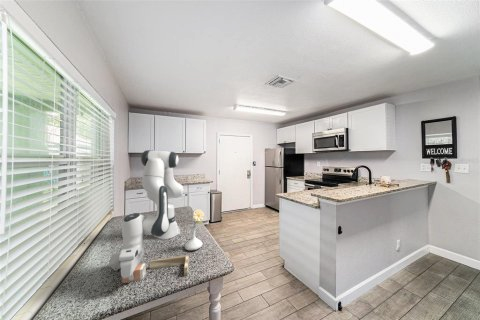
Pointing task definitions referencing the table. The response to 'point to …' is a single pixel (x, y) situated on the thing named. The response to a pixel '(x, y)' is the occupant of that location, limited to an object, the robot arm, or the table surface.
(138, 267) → the block
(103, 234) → the table surface
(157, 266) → the wooden corner bracket
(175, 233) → the robot arm
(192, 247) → the flower in vase
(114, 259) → the die
